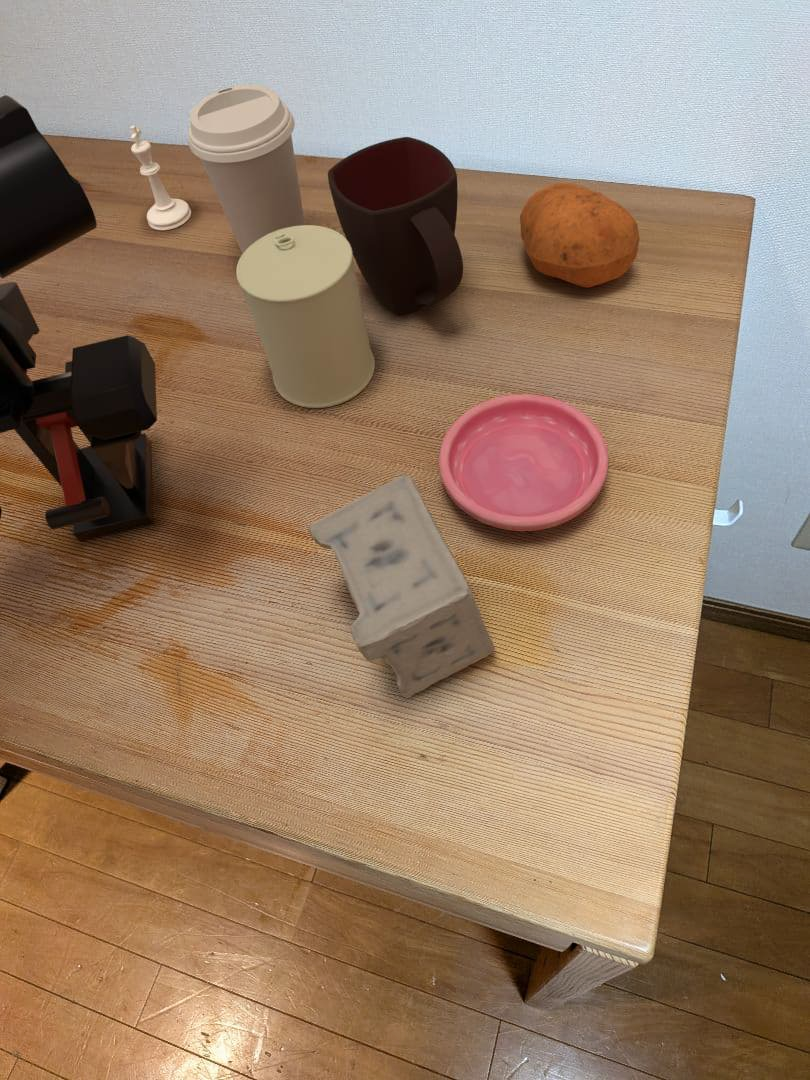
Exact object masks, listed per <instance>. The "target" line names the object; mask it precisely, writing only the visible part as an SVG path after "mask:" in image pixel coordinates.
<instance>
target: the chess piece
mask: <svg viewBox="0 0 810 1080" xmlns="http://www.w3.org/2000/svg"><path fill="white" fill-rule="evenodd" d="M129 130H130V132H131V136H130V141H131V143H133V144H132V145H131V148H130V151H131V152H132V154H133V155H134V156H135V157H136V158H137V159H138V161H139V162H140V164H142V165H141V166H140V168H139V173H140V174H141V175H142V176H146V177H147V178H148V181H149V185H150V186H151V191H152V194H153V198H154V203H153V205H152V206H151V207H150V208H149V209H148V211H147V213H146V220H147V224H148V225H149V227H150V228H151V229H153V230H156V231H170V230H173V229H176V228H178V227H180V226H183V225H184V224H185V223H187V221H188V220H190V218H191V216H192V210H191V208H190V206H189V204H188V203H187V201H185V200H183V199H180V198H173V197H171V196H170V195H169V193H168V192H167V190H166V188H165V186H164V185H163V183H162V181H161V179H160V177H159V175H158V172H159V171H160V170H161V166H160V165H159V163H158V162H155V161H153V156H152V146H151V143H150V142H149V141H147V140H142V138H141V137H140V136H141V134H142V131H141V129H140V128H137V127H136V125H130V126H129Z"/></svg>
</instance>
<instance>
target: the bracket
mask: <svg viewBox="0 0 810 1080" xmlns="http://www.w3.org/2000/svg"><path fill="white" fill-rule="evenodd" d="M64 365H65V367H64V373H68V372H71V371H72V360H70V361H66V362H65V364H64ZM68 413H69V414H70V416H71V417H72V418H73V420H74V421H75V423H76V424H77V425H78V426H77V428H78V429H79V430H80V432H81V433H82V434H83V436H84V437H85V438H86V440H87V441H88V442H89V444H90V443H91V436H90V435H87V434H85V432H84V431H83V429H82V428H81V427H80V425H79V424H78V422H77V420H76V417H75V413H74V410H71V411H68ZM14 431H15V432H16V434H17V435H18V436H19V438H21V439H22V441H23V442H24V443H25V445H26V446H27V447H28V449H30V450H31V452H32V453H33V454H34V456H35V457H36V458H37V459H38V460H39V462H40V463H41V464H42V465H43V466H44V468H45V469H46V470H47V471H48V473H49V474H50V475H51V476H52V477H53V479H54V480H55V482H56V483H58V485H59V486H60V487H61V488H62V485H61V480H60V475H59V470H58V465H57V460H56V455H55V451H54V446H53V441H52V436H51V431H49V430H48V429H46V428H44V427H42V426H40V425H38V424H37V423H36V419H34V420H29V421H25V422H22V423H21V428H18V429H14ZM73 441H74V446H75V451H76V456H77V460H78V465H79V470H80V475H81V480H82V485H83V489H84V494H85V499H86V500H90V499H95V498H99V497H104V498H105V499H106V500H107V502H108V505H109V509H110V515H109V516H107V517H103V518H99V519H95V520H91V521H87V522H83V523H79V524H75V525H72V535H73V536H74V537H75V538H76V539H77V541H78V542H84V541H89V540H92V539H93V540H94V539H96V538H101V537H105V536H108V535H113V534H117V533H121V532H124V531H129V530H132V529H133V530H134V529H137V528H140V527H141V528H142V527H145V526H151V525H153V524H154V513H153V512H154V511H153V510H154V509H153V482H152V480H153V478H152V450H151V445H152V444H151V441H150V439H149V437H148V435H147V434H146V433H145V432H143V433H141V436H140V437H139V438H138V439H137V440H136V441H134V442H131V443H128V449H129V455H130V462H131V468H132V475H133V488H130V489H127V488H125V487H124V486H123V485H122V484H120V483H119V482H118V481H117V480H116V478H115V477H114V476H113V475H112V474H111V472H110V471H109V470H108V469H107V467H106V466H105V465H104V464H103V462H102V461H101V460H100V459H99V458H98V456H97V455H96V454H95V453H94V451H93V450H92V449H91V447H90V446H86V447H81V448H80V447H79V446H78V444H77V442H76V441H75V440H74V439H73Z"/></svg>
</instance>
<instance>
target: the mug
mask: <svg viewBox="0 0 810 1080" xmlns="http://www.w3.org/2000/svg"><path fill="white" fill-rule="evenodd" d="M327 181H328V186H329V190H330V194H331V198H332V201H333V206H334V208H335V212H336V215H337V217H338V218H337V219H338V220H339V223H340V226H341V229H342V232H343V234H344V237H345V238H346V239H347V241H348V242H349V244H350V246H351V248H352V253H353V259H354V261H355V263H356V265H357V267H358V270H359V271H360V273H361V275H362V278H363V279H364V281H365V283H366V285H367V286H368V288H369V290H370V293H372V295H373V297H374V298H375V300H376V301H377V303H378V304H379V305H380V306H381V307H382V308H383V309H385V310H386V311H388V312H390V313H392V314H394V315H396V316H401V315H406V314H411V313H413V312H417V311H419V310H422V309H423V308H425V307H427V306H429V305H431V304H434V303H438V302H441V301H444V300H446V298H448V297H449V296H451V295H452V294H453V293H454V292H456V290H457V289H458V288H459V287H460V285H461V283H462V281H463V276H464V275H463V274H464V262H463V256H462V252H461V248H460V245H459V241H458V239H457V238H456V234H455V233H456V227H457V219H458V218H457V216H458V197H459V196H458V191H459V190H458V174H457V171H456V168H455V166H454V164H453V163H452V161H451V159H450V158H448V156H447V155H446V154H445V153H444V152H442V151H441V150H440V149H439V148H437V147H435V146H434V145H433V144H430V143H428V142H426V141H423V140H421V139H418V138H414V137H411V136H403V137H397V138H391V139H388V140H383V141H381V142H377V143H374V144H371V145H368V146H366V147H363V148H362V149H359V150H357V151H355V152H353V153H351V154H349V155H347V156H346V157H344V158H342V159H341V160H339V162H337V163H335V164H334V165H333V166H332V167H330V169H329V170H328V172H327Z"/></svg>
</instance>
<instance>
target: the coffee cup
mask: <svg viewBox="0 0 810 1080" xmlns="http://www.w3.org/2000/svg"><path fill="white" fill-rule="evenodd" d="M189 123H190V124H189V126H188V131H187V132H188V134H187V140H188V147H189V150H190V151H191V153H192V154H194V156H196V157H197V158H199V159H200V161H201V163H202V166H203V168H204V170H205V172H206V175H207V177H208V179H209V181H210V183H211V186H212V188H213V190H214V192H215V195H216V197H217V200H218V201H219V203H220V206H221V208H222V211H223V212H224V215H225V218H226V220H227V222H228V224H229V226H230V228H231V231H232V233H233V235H234V238H235V240H236V242H237V245H238V247H239V249H240V251H241V254H243V253H244V252H245V251H246V249H247V248H248V247H249V246H251V245H252V244H253V243H254V242H256V241H257V240H259V239H260V238H262V237H264V236H265V235H267V234H270V233H272V232H274V231H277V230H280V229H283V228H288V227H293V226H301V225H306V222H305V215H304V210H303V203H302V197H301V196H302V195H301V190H300V183H299V176H298V170H297V169H298V168H297V164H296V157H295V151H294V143H293V137H292V134H293V132H294V129H295V125H296V124H295V123H296V122H295V118H294V116H293V114H292V112H291V110H290V109H289V107H288V106H287V104H285V102H284V101H282V100H281V99H280V96H279V94H278V93H277V92H275V90H274V89H271V88H270V87H267V86H265V85H264V86H263V85H260V84H259V85H258V84H241V85H234V86H229V87H226V88H222V89H219V90H216V91H214V92H212V93H210V94H208V95H207V96H205V97H203V98H202V99H201V100H199V101H198V102H197V103H196V104H195V105H194V106H193V108H192V109H191V111H190V115H189Z"/></svg>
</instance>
